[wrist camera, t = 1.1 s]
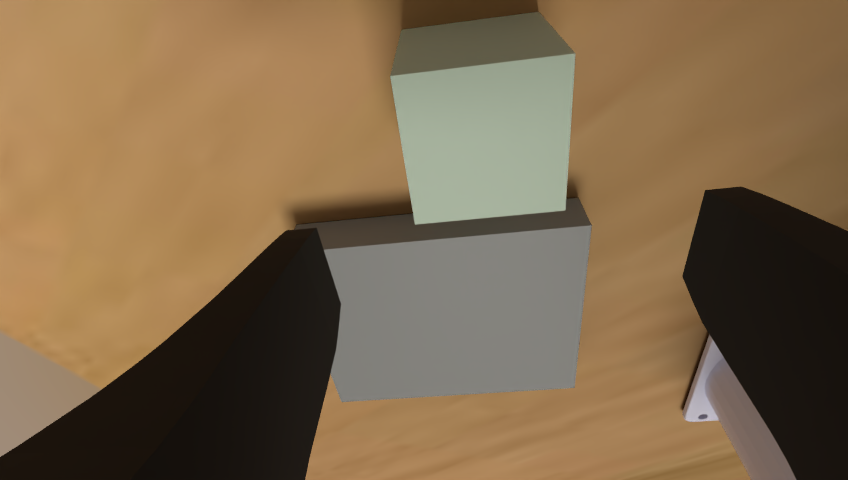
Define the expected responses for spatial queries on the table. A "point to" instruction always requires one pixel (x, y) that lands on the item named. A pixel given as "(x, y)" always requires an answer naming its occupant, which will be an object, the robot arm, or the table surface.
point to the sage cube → (484, 117)
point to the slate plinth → (457, 303)
